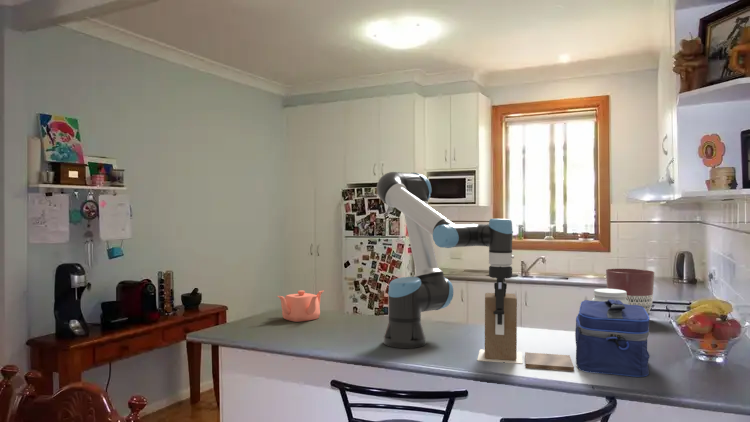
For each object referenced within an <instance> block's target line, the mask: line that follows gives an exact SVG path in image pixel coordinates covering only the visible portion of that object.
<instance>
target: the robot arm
mask: <svg viewBox="0 0 750 422" xmlns="http://www.w3.org/2000/svg"><path fill="white" fill-rule="evenodd" d="M376 192H377V196H378V198H379V199H380V200H381V201H382V202H383V203H384V204H386V205H387V206H389V207H390V208H395V209H396V210H398V211H399V212H401V213H402V214H403V215H404V219H405V223H406V229H407V233H408V239H409V243H410V247H411V248H410V250H411V255H412V258H413V259H412V260H413V263H414V269H415V274H414V275H413V276H403V277H398V278H395V279H392V280H391V281H390V282H389V284H388V291H387V294H388V320H387V321H388V323H387V325H386V328H385V332H384V336H383V344H384V345H385V346H387V347H391V348H395V349H396V348H397V349H415V348H420V347H423V346H426V335H425V332H424V329H423V325H422V321H421V320H422V319H421V318H422V317H421V316H422V313H424V312H430V311H439V310H441V309H446V307H448V306H449V305H450V304H451V303H452V300H453V298H454V287H453V286H454V285H453V283H452V281H450V280H449V279H448V278H447V277H445V274H444V271H443V270H441V269H440V268H439V266H438V261H437V260H438V259H437V256H436V253H435V252H436V251H435V248H434V243H435V245H436V246H437V247H439V248H445V249H452V248H463V247H467V248H468V247H487V248H488V264H489V266H488V276H489V277H490V278H493V279H496V281H495V282H494V285H493V288H494V293H495V296H496V310H495V311H493V314H495V334H497V335H504V296H506V294H507V288H508V287H507V285H508V284H507V282H506V279H511V278H512V277H513V266H512V265H513V259H515V255H513V233H514V231H513V221H512V220H511V219H510V218H490V219H489V221H488V224H483V223H465V224H463V223H461V224H460V223H459V224H456V223H454V222H452V221H451V220H450V219H447V217H445V216H444V215H442V214H441V213H440V212H438V211H436V210H435V209H434V208H432V207H431V206H430V205H429V199H430V198H431V196H432V195H431V194H432V192H433V191H432V185H431V181H430V180H429V179H428V178H427V176H425V175H424V174H422V173H417V172H403V171H401V172H400V171H398V172H397V171H389V172H387V173H385V174H383V175H382V176H381V177H380V178H379V180H378V181H377V184H376ZM433 242H434V243H433Z"/></svg>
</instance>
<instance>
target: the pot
mask: <svg viewBox="0 0 750 422" xmlns="http://www.w3.org/2000/svg"><path fill="white" fill-rule="evenodd" d="M323 292H325V290H319V291H318V292H317V294H315V293H314V294H313V293H310V292H309V293H307V292H306V291H305V290H303V289H302V290H301V289H300V290H297V293H289V294H285V296H282V295H277V297H278V298H279V299H280V304H281V312H282V313H281V314H282V315H281V316H282V318H283V319H284V320H287V321H291V322H295V323H296V322H307V321H314V320H318V319H319V318H320V315H321V308H320V305H321V296H322V294H323Z"/></svg>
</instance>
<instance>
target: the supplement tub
mask: <svg viewBox="0 0 750 422" xmlns="http://www.w3.org/2000/svg"><path fill="white" fill-rule="evenodd" d="M593 295H594V297H593V298H592V300H591V301H608V300H609V299H611V300H620V301H621V302H622V303H623V304H627V305H629V302H628V300H627V299H626V297H627V292H626V291H624V290H618V289H607V288H595V289H593Z"/></svg>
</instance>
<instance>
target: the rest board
mask: <svg viewBox="0 0 750 422" xmlns="http://www.w3.org/2000/svg"><path fill="white" fill-rule="evenodd" d="M524 359H525V360H524V362H525V368H526V369H539V370H541V369H542V370H550V371H551V370H554V371H565V372H567V371H568V372H575V366H574V363H573V361H572V357H571V355H570V354H558V353H557V354H555V353H544V352H543V353H541V352H526V351H525V354H524Z"/></svg>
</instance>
